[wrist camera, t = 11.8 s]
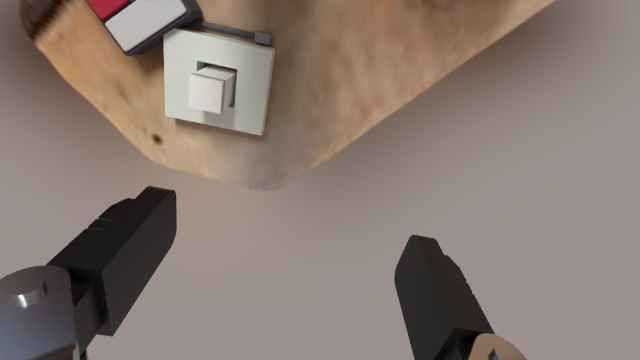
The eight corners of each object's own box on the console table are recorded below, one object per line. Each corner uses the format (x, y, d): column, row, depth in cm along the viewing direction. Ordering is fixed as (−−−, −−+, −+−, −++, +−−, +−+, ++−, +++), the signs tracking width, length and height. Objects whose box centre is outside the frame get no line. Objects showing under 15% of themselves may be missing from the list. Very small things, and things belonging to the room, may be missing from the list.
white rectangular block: (210, 64, 44) (188, 74, 37) (238, 71, 45) (222, 82, 38) (208, 92, 46) (188, 107, 39) (235, 98, 46) (220, 114, 39)
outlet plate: (173, 25, 42) (163, 25, 39) (275, 48, 43) (272, 50, 40) (174, 110, 47) (165, 116, 45) (264, 128, 49) (261, 135, 46)
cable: (178, 13, 41) (175, 13, 40) (271, 34, 42) (270, 35, 41) (178, 22, 42) (175, 23, 41) (270, 44, 43) (269, 44, 42)
